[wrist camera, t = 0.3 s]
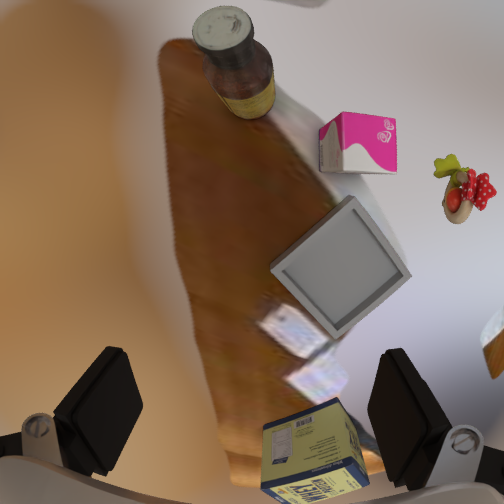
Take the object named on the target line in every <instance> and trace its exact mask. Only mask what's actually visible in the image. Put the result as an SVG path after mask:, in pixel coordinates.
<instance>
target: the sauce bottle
mask: <svg viewBox="0 0 504 504" xmlns="http://www.w3.org/2000/svg"><path fill="white" fill-rule="evenodd" d="M192 35H193V38H194V40H195V42H196V44H197V46H198V47H199V49H200V50H201V51H203V52H204V53H205V54H206V55H205V57H204V59H203V71H204V73H205V76H206V78H207V80H208V81H209V83H210V84H211V86H212V88H213V89H214V91H215V92H216V93H217V95H218V96H219V97H220V98H221V100H222V101H223V102H224V103H225V105H226V106H227V107H228V109H229V110H230V111H231V112H232V113H234V114H235V115H236V116H238V117H240V118H243V119H258V118H260V117H262V116H263V115H265V114H266V113H268V112H269V111H270V110H271V108H272V106H273V103H274V100H275V85H274V73H273V71H274V70H273V63H272V59H271V56H270V54H269V52H268V51H267V49H266V48H265V47H264V46H263V45H262V44H260V43H259V42H257V41H255V40H254V39H253V37H254V27H253V24H252V21H251V18H250V17H249V15H248V14H247V13H246V12H244V11H243V10H242V9H240V8H238V7H234V6H219V7H216V8H212V9H210V10H207V11H206V12H204V13H203V14H202V15H200V16H199V17H198V19H197V20H196V21H195V23H194V26H193V30H192Z"/></svg>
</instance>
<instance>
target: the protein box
mask: <svg viewBox="0 0 504 504" xmlns="http://www.w3.org/2000/svg"><path fill="white" fill-rule="evenodd" d="M369 484H370V482H369V479H368V474H367V471H366V467H365V463H364V459H363V455H362V451H361V448H360V444H359V440H358V436H357V432H356V429H355V425H354V423H353V422H352V420H351V418H350V417H349V415H348V413H347V412H346V410H345V409H344V407H343V405H342V404H341V402H340V401H339V399H338V398H337V397H336V398H334V399H332V400H329V401H327V402H325V403H322V404H320V405H317V406H315V407H312V408H310V409H307V410H305V411H302V412H299V413H297V414H294V415H291V416H289V417H286V418H283V419H280V420H277V421H274V422H271V423H268V424H265V425H264V426H263V449H262V468H261V490H262V491H263V492H265V493H266V494H268V495H269V496H271V497H273V498H274V499H276V500H277V501H279V502H281V503H282V504H310V503H313V502H317V501H320V500H324V499H327V498H331V497H334V496H337V495H341V494H344V493H347V492H350V491H353V490H356V489H359V488H362V487H365V486H367V485H369Z"/></svg>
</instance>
